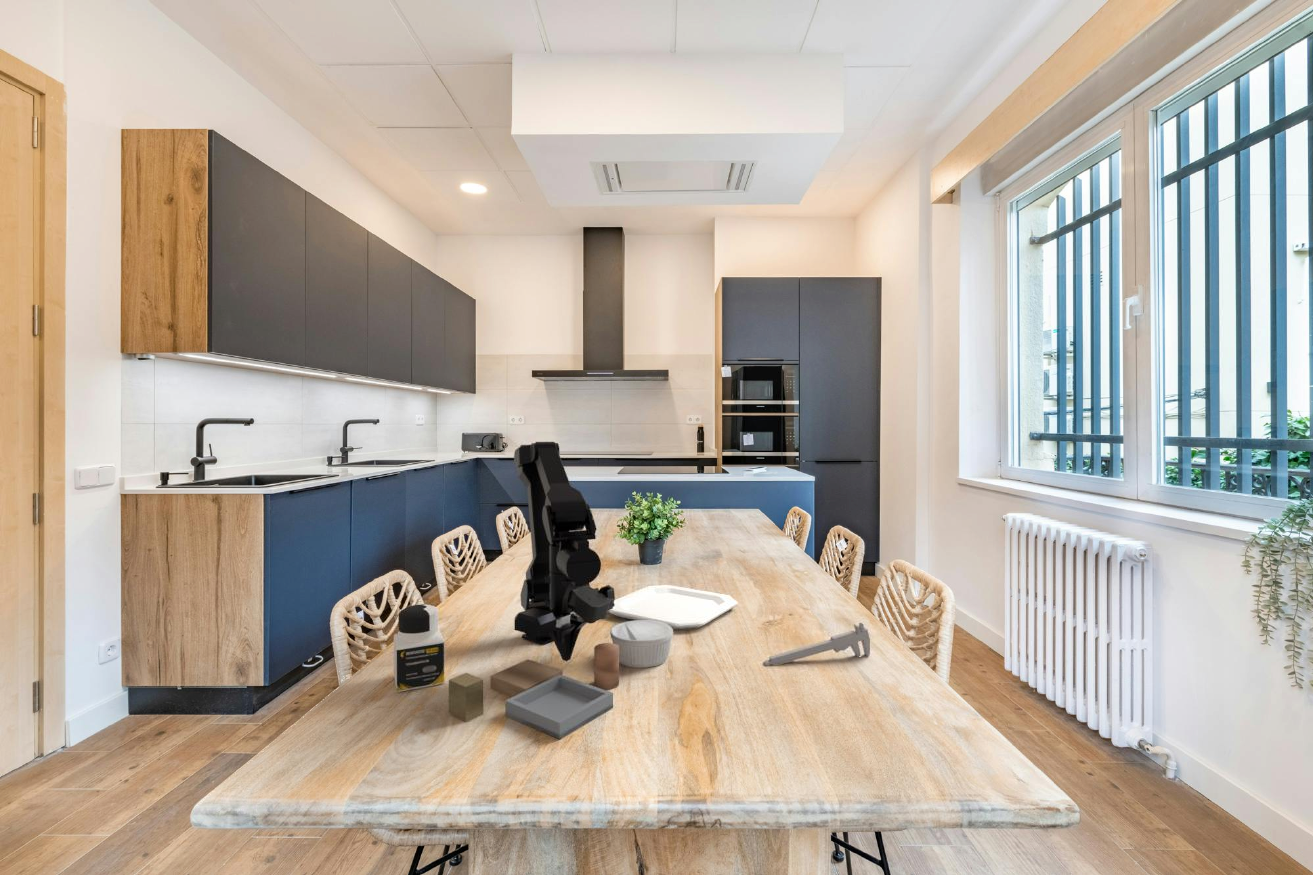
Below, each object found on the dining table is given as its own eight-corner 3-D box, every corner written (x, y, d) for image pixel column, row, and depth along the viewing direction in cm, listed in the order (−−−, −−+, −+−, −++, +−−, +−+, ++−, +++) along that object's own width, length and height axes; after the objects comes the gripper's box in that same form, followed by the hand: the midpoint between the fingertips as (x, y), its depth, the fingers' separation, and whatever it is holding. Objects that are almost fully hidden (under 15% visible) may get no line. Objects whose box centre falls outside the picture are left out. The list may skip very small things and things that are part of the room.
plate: (745, 606, 137) (745, 597, 137) (693, 638, 116) (693, 627, 116) (655, 591, 150) (655, 582, 150) (595, 617, 129) (595, 607, 129)
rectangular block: (466, 706, 87) (466, 672, 87) (483, 713, 85) (483, 679, 85) (448, 713, 85) (448, 679, 85) (465, 722, 82) (465, 686, 82)
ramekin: (597, 659, 105) (597, 629, 105) (641, 642, 114) (641, 615, 113) (642, 677, 98) (642, 645, 98) (685, 657, 106) (685, 629, 106)
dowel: (605, 676, 97) (605, 641, 97) (624, 683, 95) (624, 646, 95) (589, 685, 94) (589, 648, 94) (607, 692, 92) (608, 654, 92)
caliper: (866, 655, 108) (866, 621, 108) (870, 657, 107) (870, 623, 106) (762, 665, 103) (762, 629, 103) (765, 667, 102) (765, 631, 102)
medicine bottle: (396, 693, 91) (396, 617, 91) (393, 676, 98) (393, 604, 97) (444, 684, 95) (444, 610, 94) (438, 668, 101) (438, 598, 101)
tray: (560, 688, 93) (560, 674, 93) (613, 707, 87) (613, 692, 87) (505, 715, 84) (505, 700, 84) (559, 739, 78) (559, 723, 78)
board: (527, 673, 100) (527, 659, 100) (562, 685, 95) (562, 670, 95) (490, 691, 93) (490, 675, 93) (525, 705, 89) (525, 688, 88)
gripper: (560, 590, 89) (560, 692, 89) (636, 566, 104) (636, 653, 104) (512, 578, 95) (512, 673, 96) (589, 558, 110) (589, 640, 111)
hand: (566, 660), depth 101 cm, fingers closed
